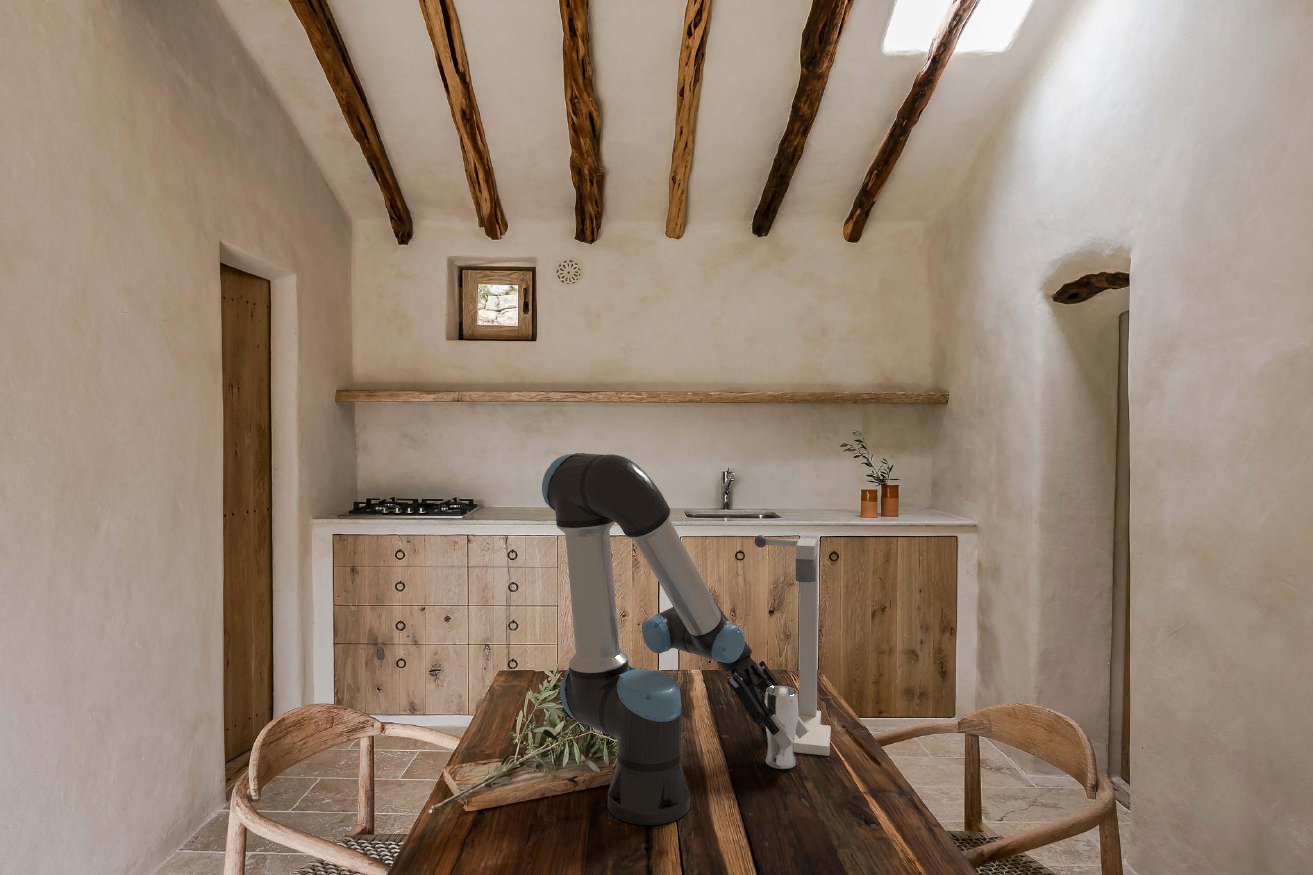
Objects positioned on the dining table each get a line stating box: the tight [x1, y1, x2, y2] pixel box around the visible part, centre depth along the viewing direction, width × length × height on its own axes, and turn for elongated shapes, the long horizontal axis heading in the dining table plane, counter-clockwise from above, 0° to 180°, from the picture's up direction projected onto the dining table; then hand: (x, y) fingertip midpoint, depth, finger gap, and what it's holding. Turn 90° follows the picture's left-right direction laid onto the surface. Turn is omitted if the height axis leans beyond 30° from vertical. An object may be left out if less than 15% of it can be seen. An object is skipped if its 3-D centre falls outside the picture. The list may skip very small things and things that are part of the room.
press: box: [753, 534, 832, 757], centre depth 175 cm, size 21×18×44 cm
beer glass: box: [764, 685, 799, 770], centre depth 158 cm, size 7×7×15 cm
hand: (796, 740), depth 157 cm, fingers closed on beer glass, 7 cm apart
